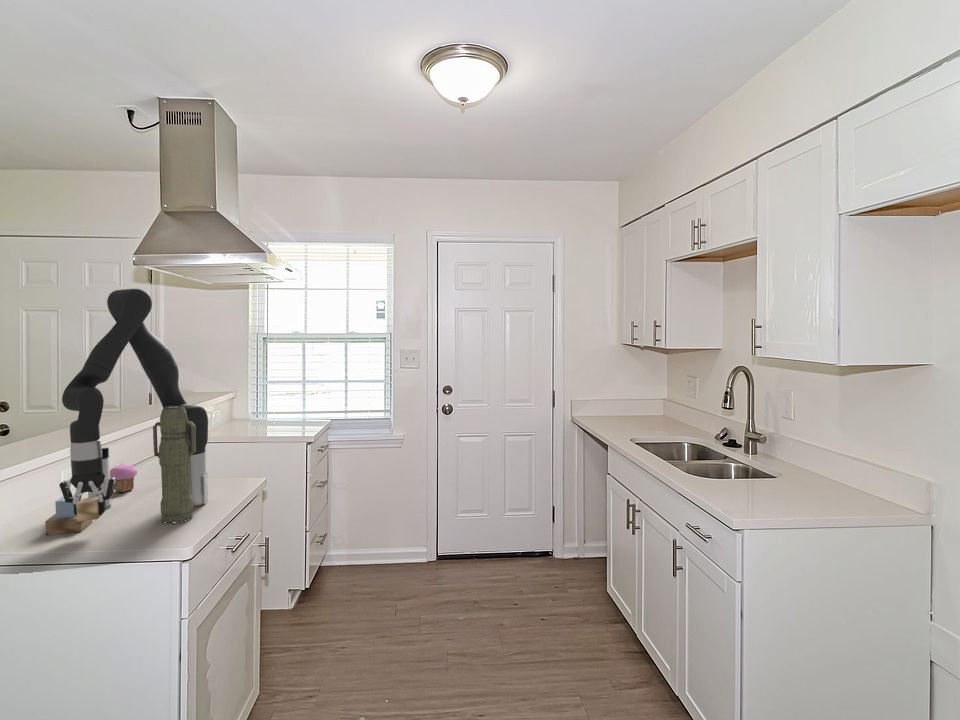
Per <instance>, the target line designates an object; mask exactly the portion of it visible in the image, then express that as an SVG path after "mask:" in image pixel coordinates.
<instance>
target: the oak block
mask: <svg viewBox="0 0 960 720" xmlns="http://www.w3.org/2000/svg"><path fill="white" fill-rule="evenodd" d="M98 503H99V501H98V499H97V497H95V498H88V497H87V498H85V497H84V498H81V500H80V501H79V502H78V503H76V509H77V521H85V520H92V521H94V520H98V519H99V518H101V517H102V516H103V515H104V513H103V514H102V515H99V508H98Z"/></svg>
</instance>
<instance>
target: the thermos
mask: <svg viewBox="0 0 960 720" xmlns="http://www.w3.org/2000/svg"><path fill="white" fill-rule="evenodd" d="M160 412H161V413H160V417H159V421H158V422H155V424H154V425H153V426H152V431H153V432H152V438H153V454H154V457H157V458H158V464H159V466H160V471H161V472H160V473H161V474H160V475H161V495H162V496H161V499H160V500H161V501H160V514H161V522H162V523H163V522H166V523H165V524H167V523H173V522H181V521H185V520H188V519H191V518H192V517H193V518H194V516H193V510H194V506H193V498H192V495H191V487H190V463H191V455H193V454H194V453H195V452H196V426H195V424H194V423H193V422H192V421H189V420H188V415H187V412H186V410H185V407H182V406H167V407H165V408H163V407H162V409H161V411H160ZM188 424H189V425H190V426H191V444H192V450H191V444H190V442H189V439H188ZM158 426H159V427H160V434H161V435H160V443H159V445H158ZM193 518H192V519H193ZM192 519H191V520H192ZM188 521H189V520H188Z"/></svg>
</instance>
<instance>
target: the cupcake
mask: <svg viewBox="0 0 960 720" xmlns="http://www.w3.org/2000/svg"><path fill="white" fill-rule="evenodd" d="M137 474H138V470H137V468H136V467H135V466H134V465H133V464H131V463H121V464H117V465H114V466H113V467H112V468H110V478H112V477H115V478H116V482H115V487H114V492H116V493H118V492H122V493H127V492H129V490H130V491H132V490H133V489H134V486H135V485H134V484H135V483H134V481H135V477H136V476H137ZM126 491H127V492H126Z"/></svg>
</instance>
